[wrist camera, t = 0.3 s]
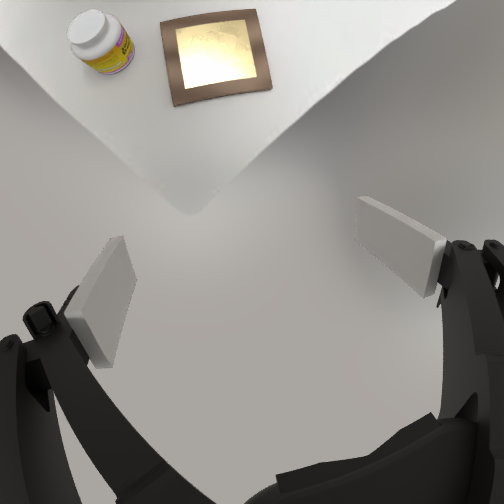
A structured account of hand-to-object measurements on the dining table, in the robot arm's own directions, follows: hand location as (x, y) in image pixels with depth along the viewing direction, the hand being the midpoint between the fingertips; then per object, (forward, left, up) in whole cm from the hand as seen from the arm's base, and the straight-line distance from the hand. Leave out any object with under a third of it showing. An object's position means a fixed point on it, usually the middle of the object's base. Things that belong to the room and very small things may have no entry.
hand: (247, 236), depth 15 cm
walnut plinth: (-18, +3, -27) cm, 33 cm away
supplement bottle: (-23, -11, -27) cm, 37 cm away
